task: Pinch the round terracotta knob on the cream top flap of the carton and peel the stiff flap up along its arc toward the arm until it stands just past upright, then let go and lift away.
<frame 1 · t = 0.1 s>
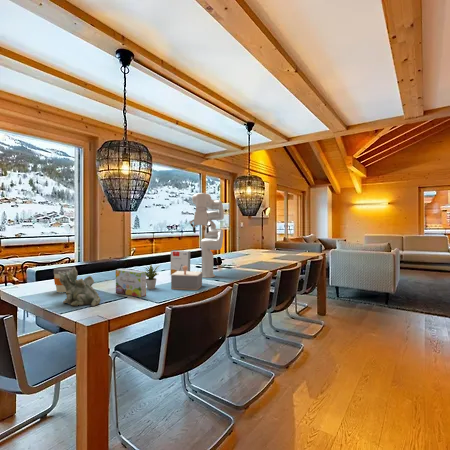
hand: (200, 232, 218), 37 cm above the table, tool pointing down, fingers open, 9 cm apart
house plant: (151, 288, 201), on the table
carton: (187, 287, 204), on the table
flap: (187, 269, 204), point 12 cm above the table, hinge at 0.0°
sculpture: (80, 302, 165), on the table
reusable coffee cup: (64, 291, 190), on the table
snack box: (130, 294, 183), on the table
hard drive box: (180, 274, 251), on the table
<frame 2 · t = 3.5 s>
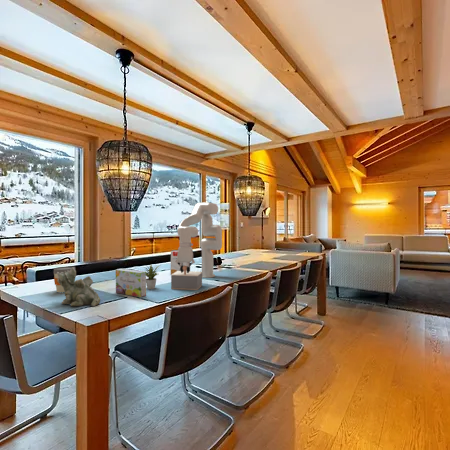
hand: (185, 272, 199), 11 cm above the table, tool pointing down, fingers closed on flap, 3 cm apart
flap: (187, 269, 204), point 12 cm above the table, hinge at 0.0°, touching gripper
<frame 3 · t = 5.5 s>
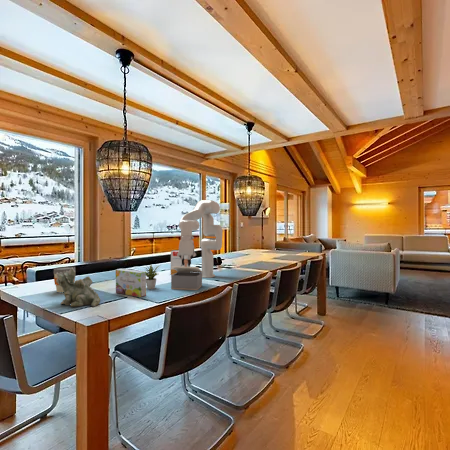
hand: (186, 265, 202), 16 cm above the table, tool pointing down, fingers closed on flap, 3 cm apart
flap: (187, 265, 205), point 15 cm above the table, hinge at 22.4°, touching gripper
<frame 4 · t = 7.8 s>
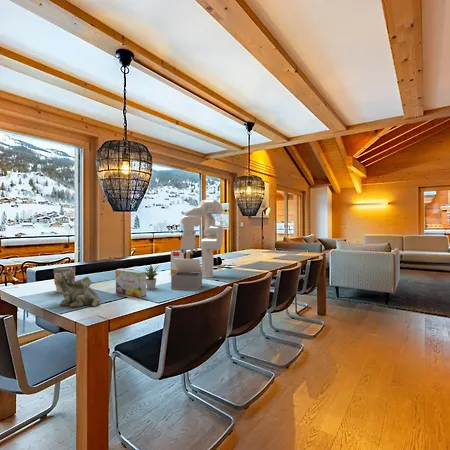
hand: (188, 259, 206), 19 cm above the table, tool pointing down, fingers closed on flap, 3 cm apart
flap: (189, 262, 208), point 16 cm above the table, hinge at 47.8°, touching gripper
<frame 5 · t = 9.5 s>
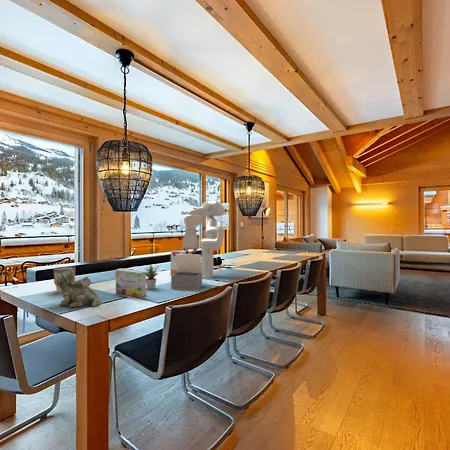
hand: (190, 257, 212), 20 cm above the table, tool pointing down, fingers closed on flap, 3 cm apart
flap: (190, 261, 211), point 17 cm above the table, hinge at 70.0°, touching gripper
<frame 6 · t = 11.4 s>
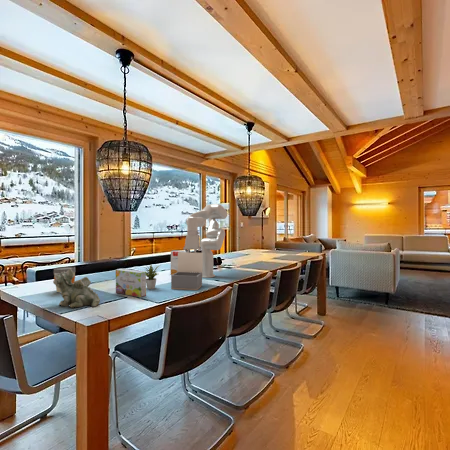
hand: (192, 258, 216), 18 cm above the table, tool pointing down, fingers closed on flap, 3 cm apart
flap: (191, 261, 214), point 16 cm above the table, hinge at 91.8°, touching gripper
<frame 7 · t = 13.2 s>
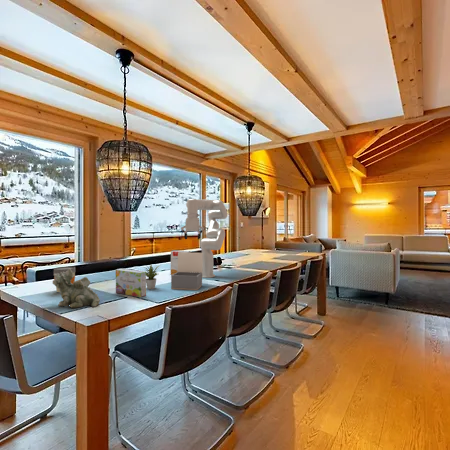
hand: (192, 239, 217), 32 cm above the table, tool pointing down, fingers open, 9 cm apart
flap: (191, 262, 214), point 16 cm above the table, hinge at 92.5°
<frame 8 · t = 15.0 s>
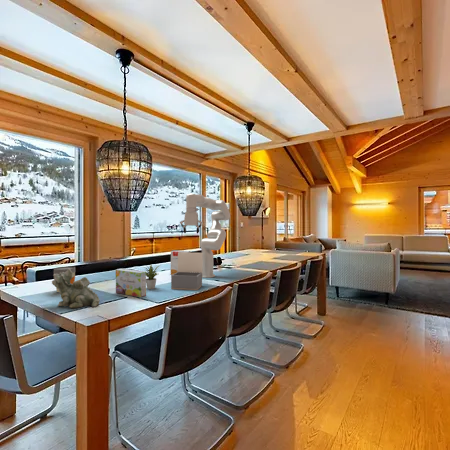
hand: (191, 233, 221), 36 cm above the table, tool pointing down, fingers open, 9 cm apart
at the end: flap at +92° (first picture: +0°); the gripper is holding nothing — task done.
